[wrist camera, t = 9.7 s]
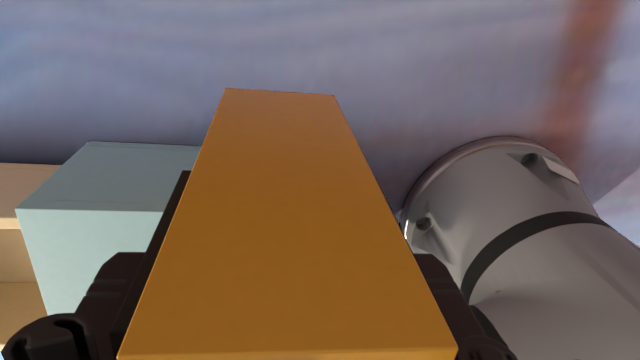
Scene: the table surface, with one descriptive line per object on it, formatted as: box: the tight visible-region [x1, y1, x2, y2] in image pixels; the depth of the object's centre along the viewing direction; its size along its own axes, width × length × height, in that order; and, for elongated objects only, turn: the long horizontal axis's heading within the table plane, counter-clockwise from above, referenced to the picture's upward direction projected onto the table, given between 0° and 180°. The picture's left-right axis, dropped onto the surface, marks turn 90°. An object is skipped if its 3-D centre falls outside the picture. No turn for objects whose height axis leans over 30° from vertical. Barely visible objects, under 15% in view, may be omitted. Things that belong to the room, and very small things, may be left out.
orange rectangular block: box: [116, 88, 458, 360], centre depth 13 cm, size 5×5×14 cm
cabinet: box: [15, 141, 202, 316], centre depth 29 cm, size 18×14×9 cm
